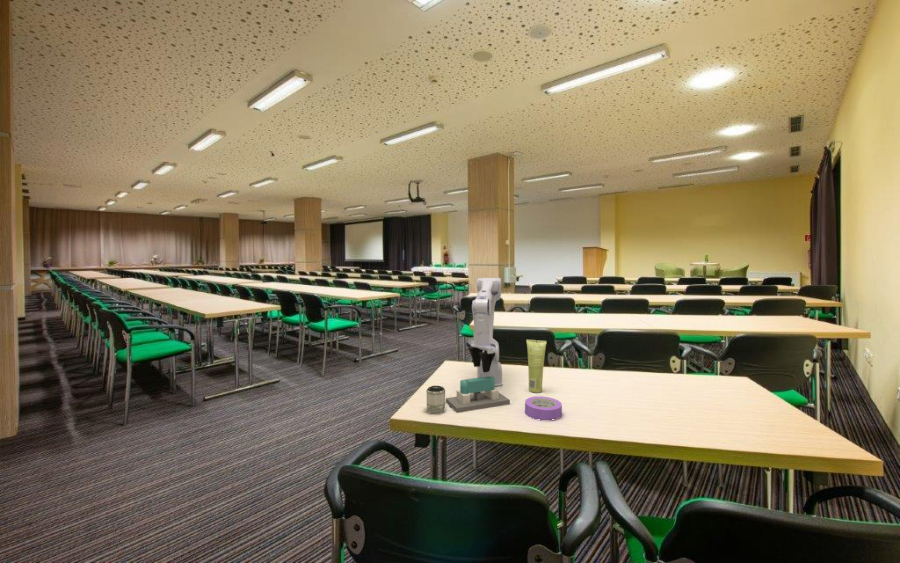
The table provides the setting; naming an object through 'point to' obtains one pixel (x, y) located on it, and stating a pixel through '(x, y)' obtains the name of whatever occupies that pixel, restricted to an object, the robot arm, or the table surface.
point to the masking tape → (543, 408)
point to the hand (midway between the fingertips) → (481, 369)
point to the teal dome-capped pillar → (477, 385)
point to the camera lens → (435, 399)
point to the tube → (535, 364)
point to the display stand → (476, 400)
